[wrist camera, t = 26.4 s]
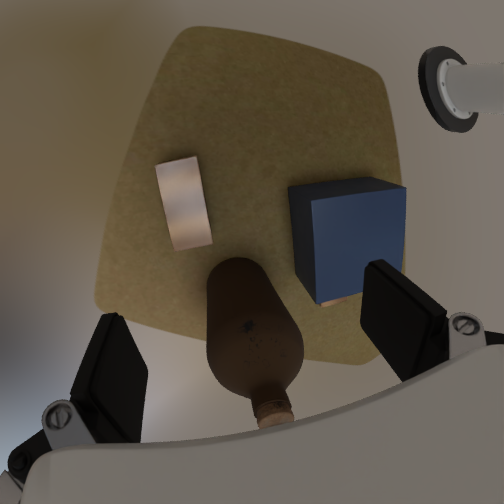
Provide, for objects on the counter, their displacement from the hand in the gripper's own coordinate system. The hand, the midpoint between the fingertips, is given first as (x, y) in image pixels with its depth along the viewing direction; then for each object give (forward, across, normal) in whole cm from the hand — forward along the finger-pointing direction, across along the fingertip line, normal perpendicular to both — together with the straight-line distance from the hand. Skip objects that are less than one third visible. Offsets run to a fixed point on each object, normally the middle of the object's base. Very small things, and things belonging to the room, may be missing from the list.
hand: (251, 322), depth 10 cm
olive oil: (+30, -1, +16) cm, 34 cm away
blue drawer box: (+30, -17, +9) cm, 35 cm away
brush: (+30, +4, +1) cm, 30 cm away
